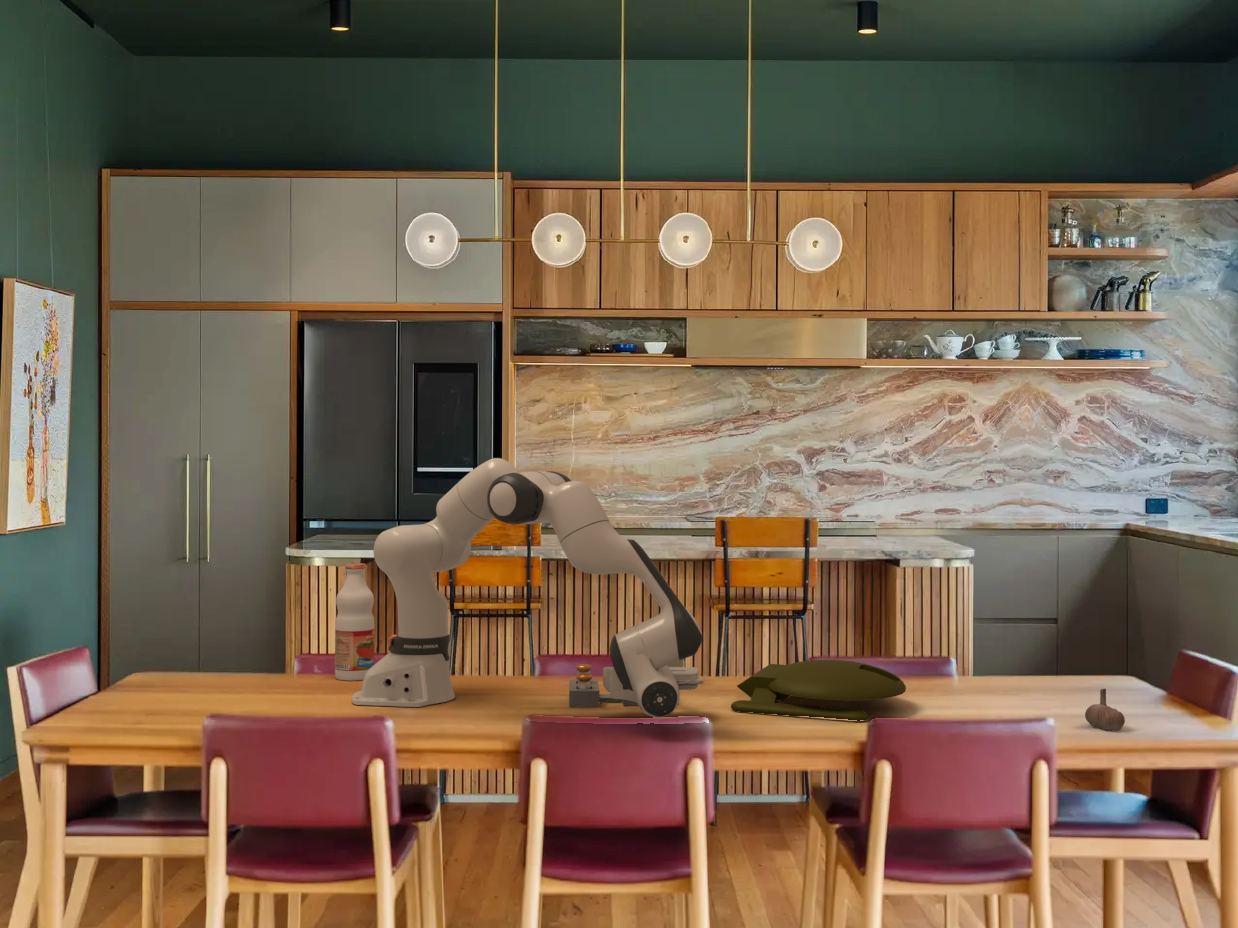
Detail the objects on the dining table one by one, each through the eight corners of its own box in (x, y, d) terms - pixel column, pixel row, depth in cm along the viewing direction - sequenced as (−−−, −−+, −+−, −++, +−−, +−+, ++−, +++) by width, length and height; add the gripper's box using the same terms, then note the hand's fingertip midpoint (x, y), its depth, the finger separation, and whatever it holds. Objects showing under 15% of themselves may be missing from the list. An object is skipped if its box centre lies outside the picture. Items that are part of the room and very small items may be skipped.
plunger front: (576, 702, 240) (576, 676, 240) (576, 698, 243) (576, 673, 243) (592, 702, 240) (592, 676, 240) (591, 698, 243) (591, 673, 243)
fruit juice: (341, 673, 276) (342, 562, 276) (378, 674, 275) (379, 562, 275) (329, 680, 266) (330, 565, 266) (367, 681, 266) (368, 565, 266)
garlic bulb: (1082, 723, 225) (1082, 683, 225) (1121, 725, 223) (1121, 686, 223) (1087, 731, 218) (1087, 690, 218) (1127, 733, 216) (1127, 693, 216)
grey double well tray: (569, 706, 238) (569, 690, 238) (569, 694, 251) (569, 679, 251) (674, 706, 239) (674, 690, 239) (668, 694, 252) (668, 679, 252)
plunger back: (576, 691, 246) (576, 666, 246) (576, 688, 249) (576, 664, 249) (591, 691, 246) (591, 666, 246) (591, 688, 249) (591, 664, 249)
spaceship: (727, 713, 234) (727, 667, 234) (763, 687, 262) (763, 646, 263) (895, 728, 221) (896, 679, 221) (913, 699, 250) (913, 656, 250)
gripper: (704, 667, 225) (696, 656, 239) (604, 667, 224) (602, 656, 238) (703, 698, 225) (696, 685, 239) (604, 698, 224) (601, 685, 238)
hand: (648, 670), depth 238 cm, fingers open, 8 cm apart
